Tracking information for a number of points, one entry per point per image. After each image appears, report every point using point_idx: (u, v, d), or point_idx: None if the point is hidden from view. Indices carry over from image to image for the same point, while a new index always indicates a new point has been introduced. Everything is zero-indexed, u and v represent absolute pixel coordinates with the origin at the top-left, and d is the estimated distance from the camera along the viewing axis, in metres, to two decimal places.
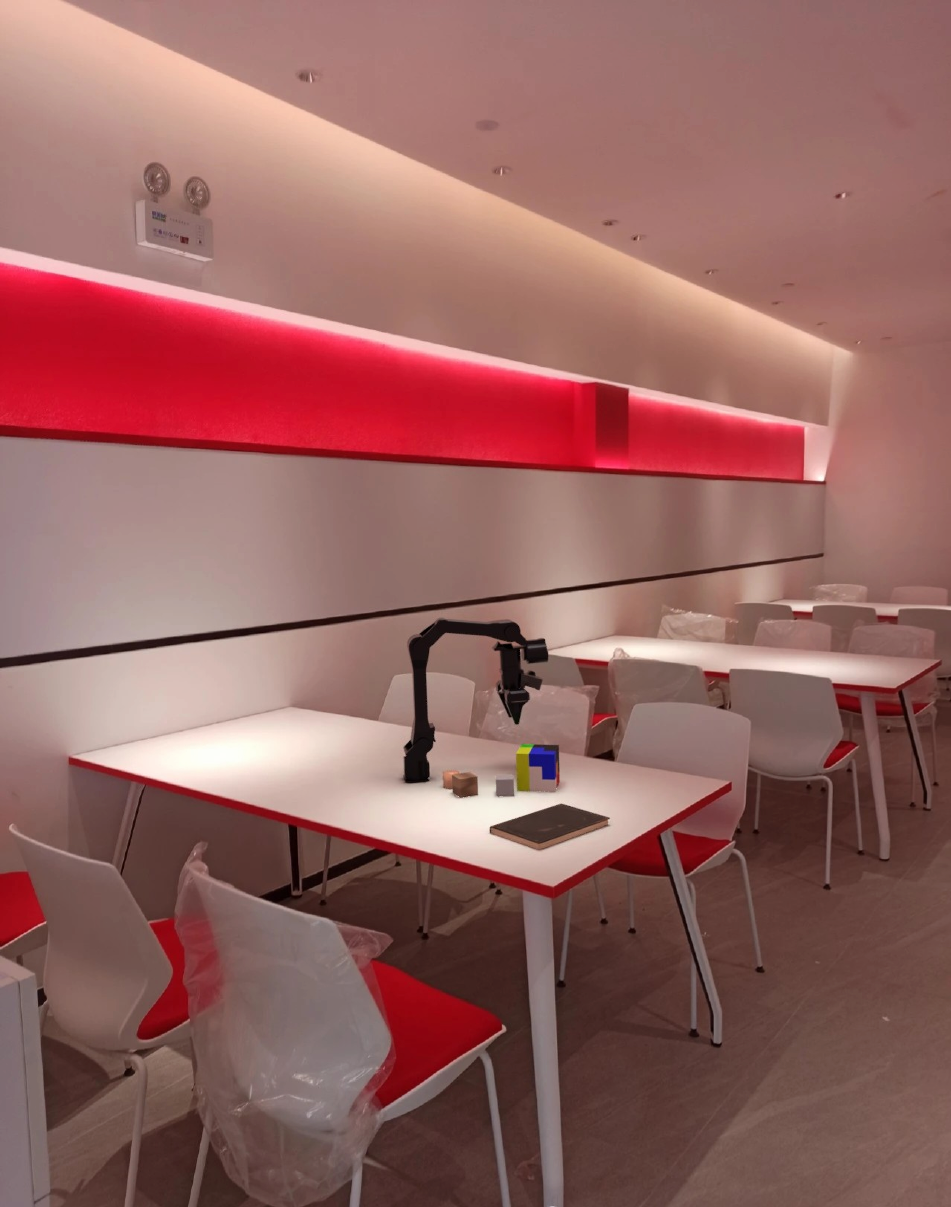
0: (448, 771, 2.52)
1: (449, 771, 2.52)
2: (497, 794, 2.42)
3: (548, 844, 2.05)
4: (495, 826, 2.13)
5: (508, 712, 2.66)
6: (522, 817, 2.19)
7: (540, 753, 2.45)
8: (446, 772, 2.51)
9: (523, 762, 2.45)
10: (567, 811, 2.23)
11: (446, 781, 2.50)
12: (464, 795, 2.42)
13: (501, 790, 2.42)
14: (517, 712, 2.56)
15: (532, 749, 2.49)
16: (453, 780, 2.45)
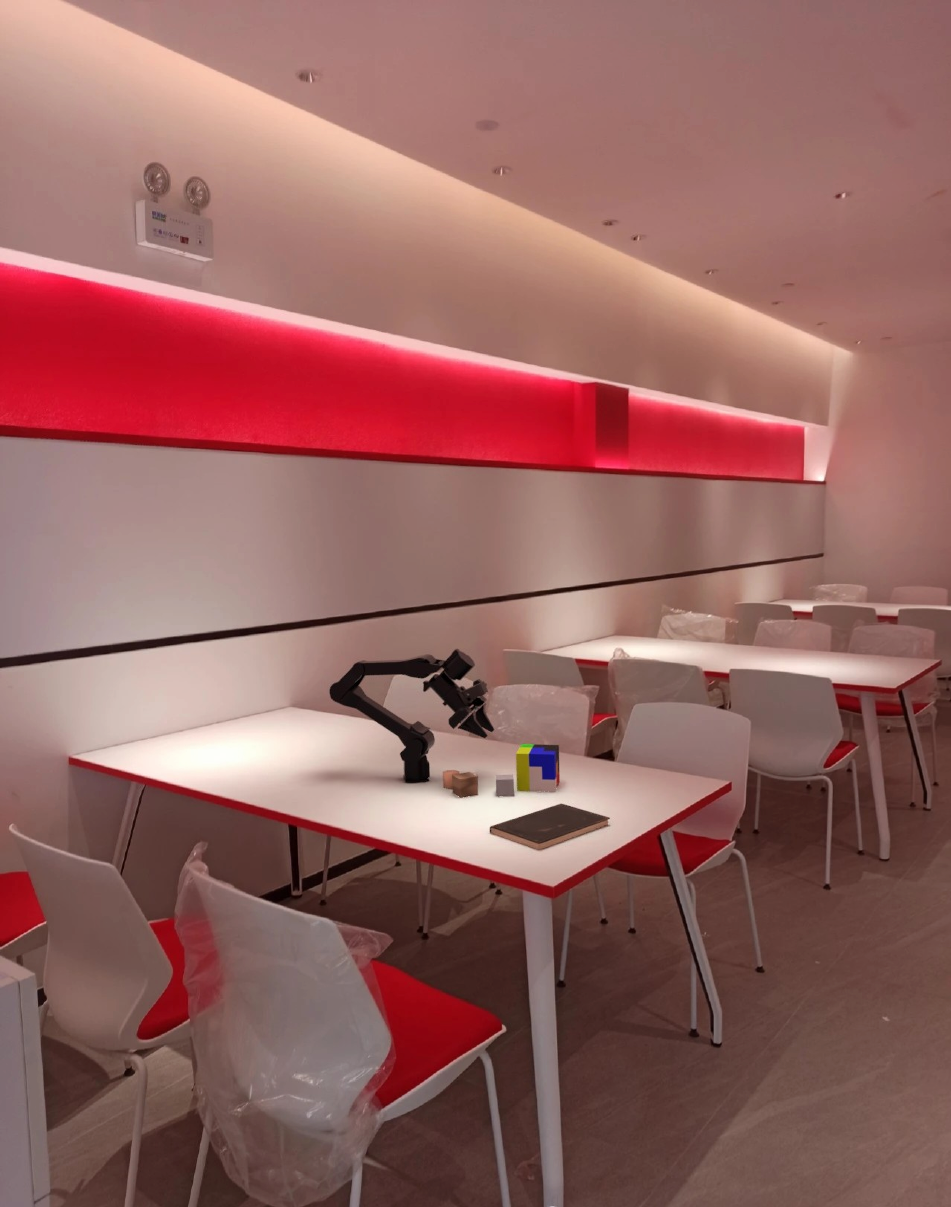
0: (448, 771, 2.52)
1: (449, 771, 2.52)
2: (497, 794, 2.42)
3: (548, 844, 2.05)
4: (495, 826, 2.13)
5: (487, 728, 2.56)
6: (522, 817, 2.19)
7: (540, 753, 2.45)
8: (446, 772, 2.51)
9: (523, 762, 2.45)
10: (567, 811, 2.23)
11: (446, 781, 2.50)
12: (464, 795, 2.42)
13: (501, 790, 2.42)
14: (476, 728, 2.48)
15: (532, 749, 2.49)
16: (453, 780, 2.45)
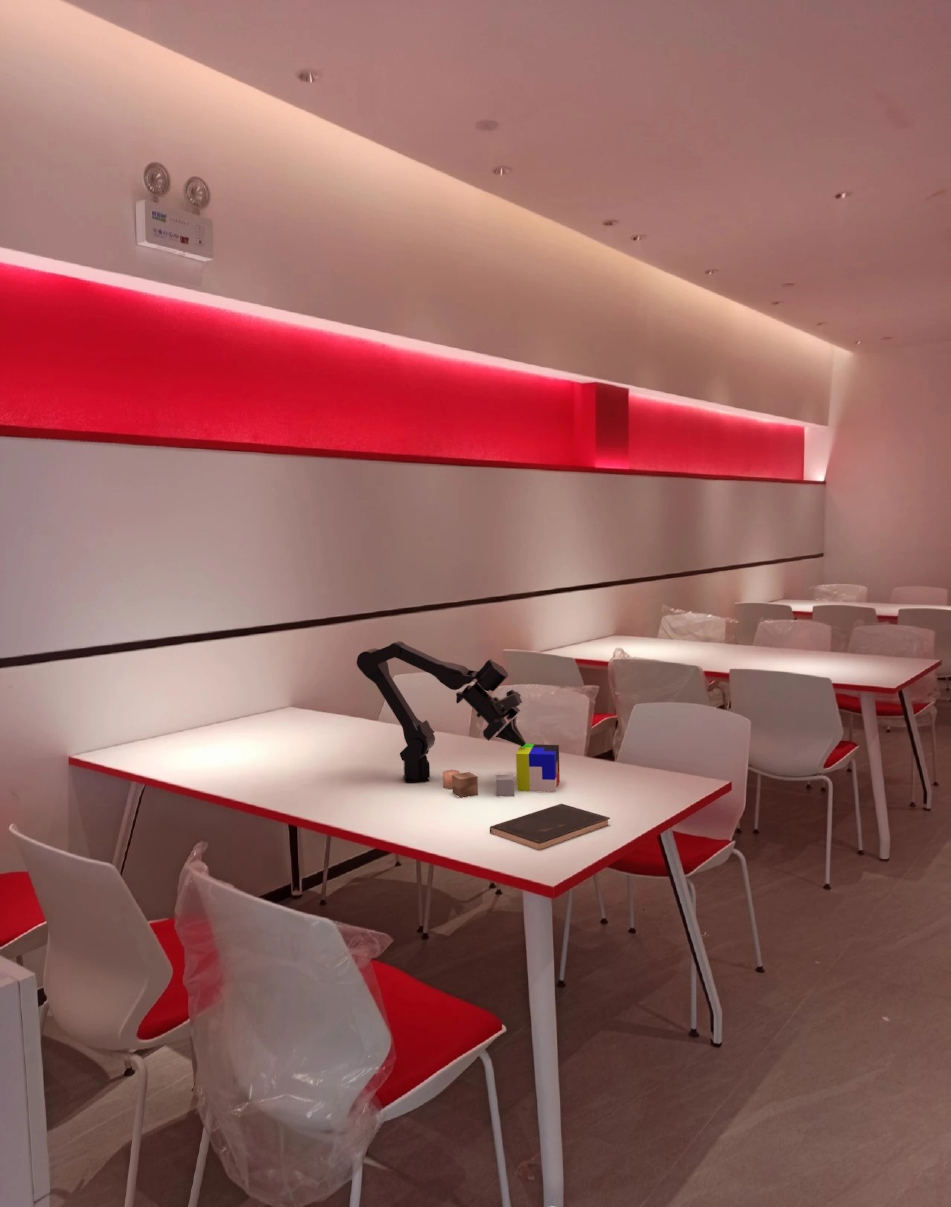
0: (448, 771, 2.52)
1: (449, 771, 2.52)
2: (497, 794, 2.42)
3: (548, 844, 2.05)
4: (495, 826, 2.13)
5: None
6: (522, 817, 2.19)
7: (540, 753, 2.45)
8: (446, 772, 2.51)
9: (523, 762, 2.45)
10: (567, 811, 2.23)
11: (446, 781, 2.50)
12: (464, 795, 2.42)
13: (501, 790, 2.42)
14: (513, 736, 2.49)
15: (532, 749, 2.49)
16: (453, 780, 2.45)
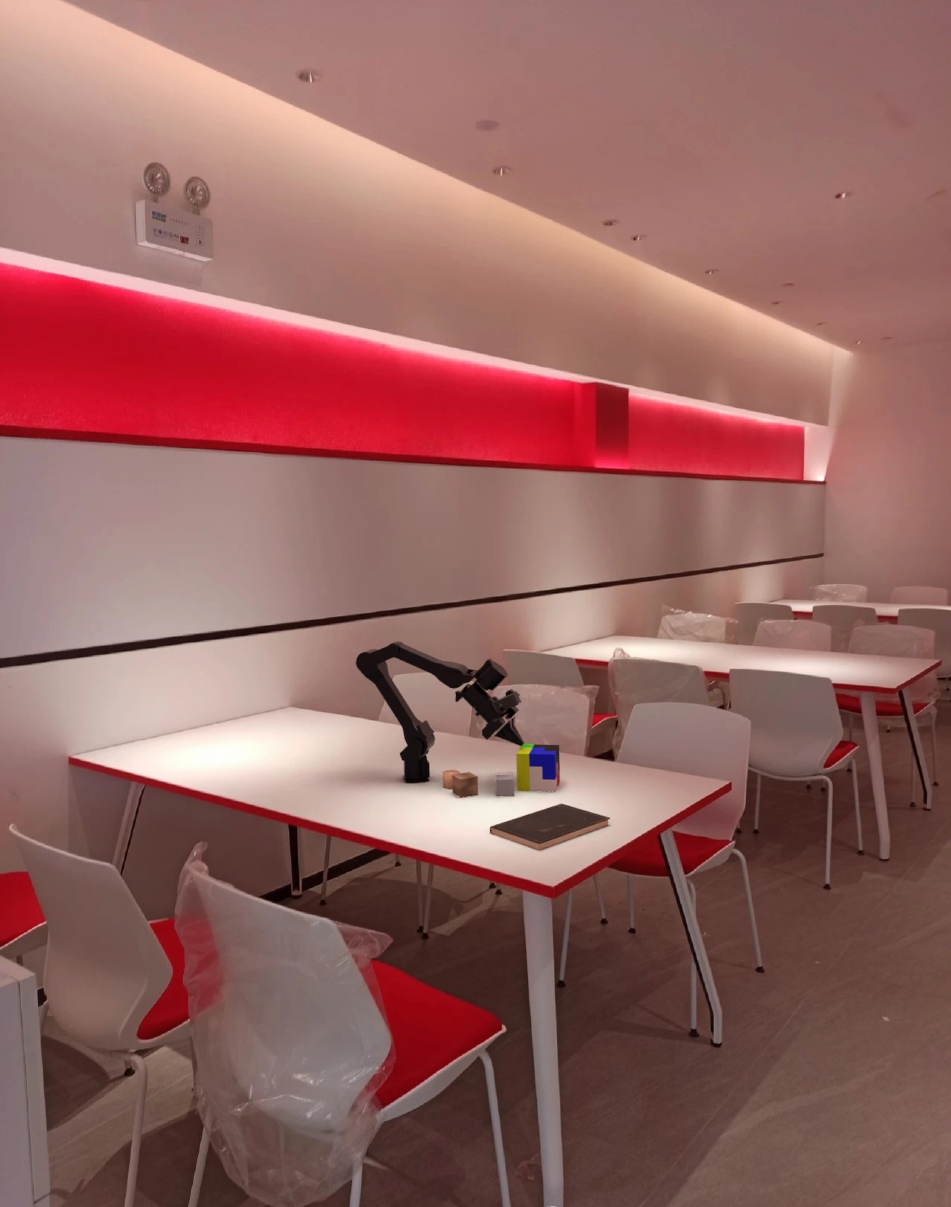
0: (448, 771, 2.52)
1: (449, 771, 2.52)
2: (497, 794, 2.42)
3: (548, 844, 2.05)
4: (495, 826, 2.13)
5: None
6: (522, 817, 2.19)
7: (540, 753, 2.45)
8: (446, 772, 2.51)
9: (523, 762, 2.45)
10: (568, 811, 2.23)
11: (446, 781, 2.50)
12: (464, 795, 2.42)
13: (501, 790, 2.42)
14: (512, 735, 2.49)
15: (532, 749, 2.49)
16: (453, 780, 2.45)
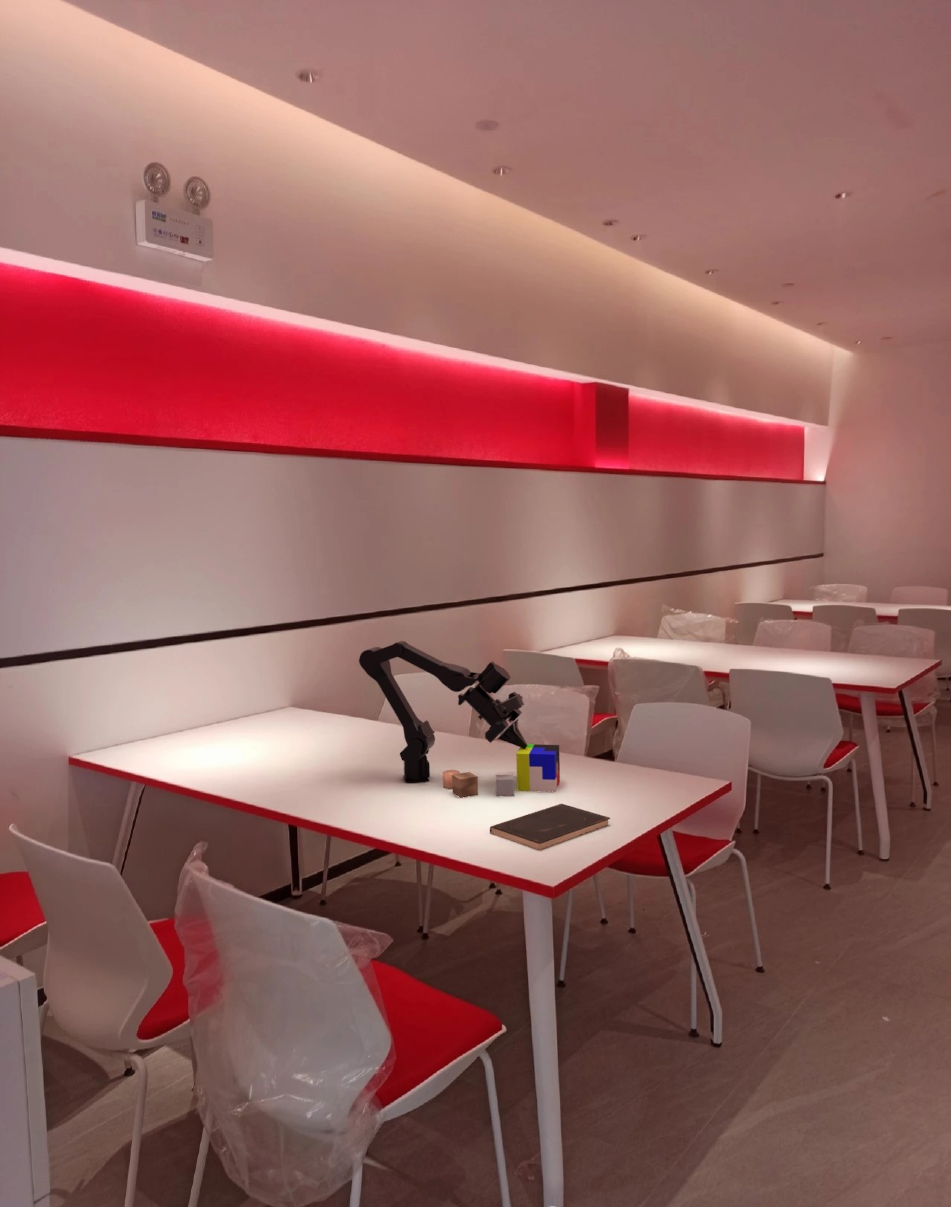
0: (448, 771, 2.52)
1: (449, 771, 2.52)
2: (497, 794, 2.42)
3: (548, 844, 2.05)
4: (495, 826, 2.13)
5: None
6: (522, 817, 2.19)
7: (540, 753, 2.45)
8: (446, 772, 2.51)
9: (523, 762, 2.45)
10: (568, 811, 2.23)
11: (446, 781, 2.50)
12: (464, 795, 2.42)
13: (501, 790, 2.42)
14: (515, 738, 2.49)
15: (532, 749, 2.49)
16: (453, 780, 2.45)
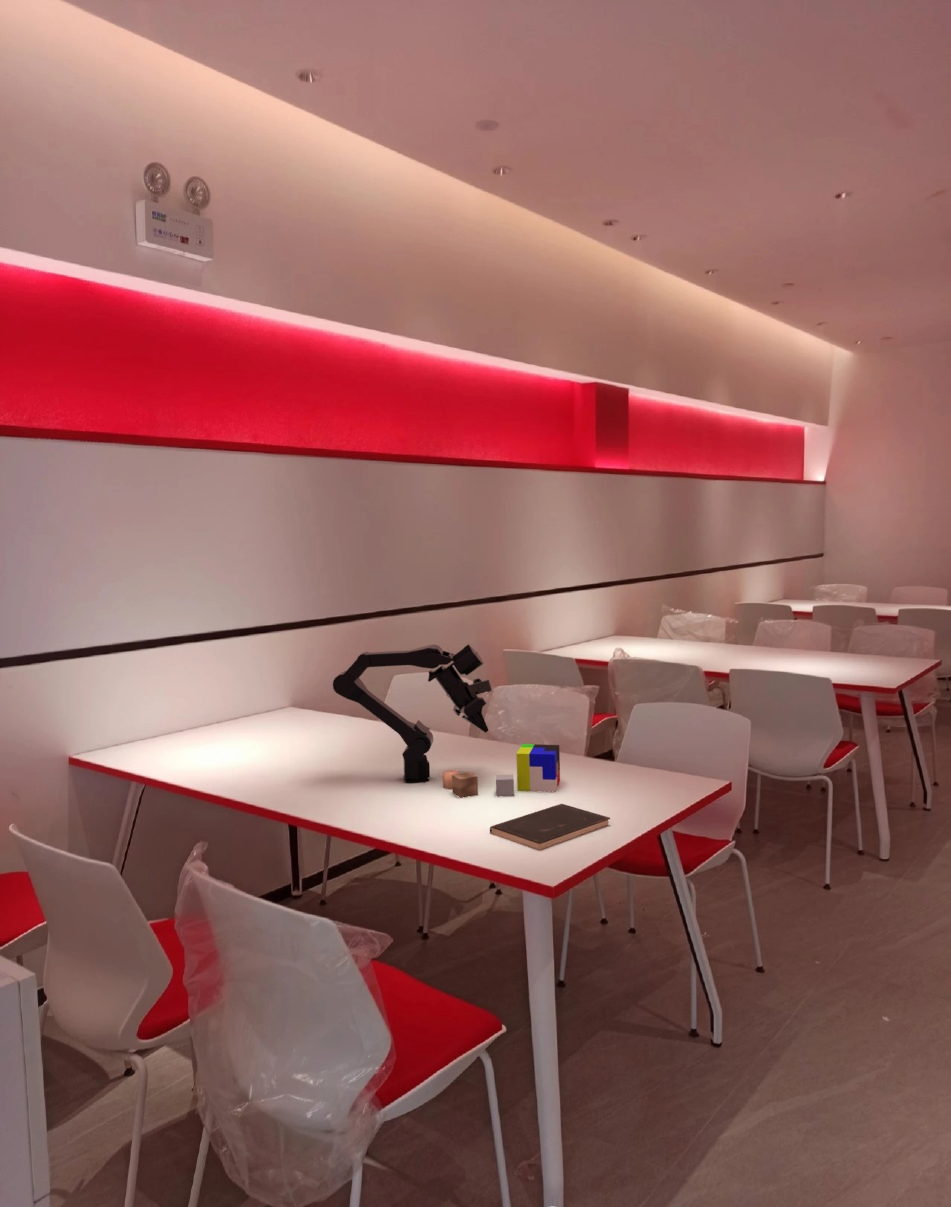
0: (448, 771, 2.52)
1: (449, 771, 2.52)
2: (497, 794, 2.42)
3: (548, 844, 2.05)
4: (495, 826, 2.13)
5: None
6: (522, 817, 2.19)
7: (540, 753, 2.45)
8: (446, 772, 2.51)
9: (523, 762, 2.45)
10: (568, 811, 2.23)
11: (446, 781, 2.50)
12: (464, 795, 2.42)
13: (501, 790, 2.42)
14: (480, 721, 2.55)
15: (532, 749, 2.49)
16: (453, 780, 2.45)
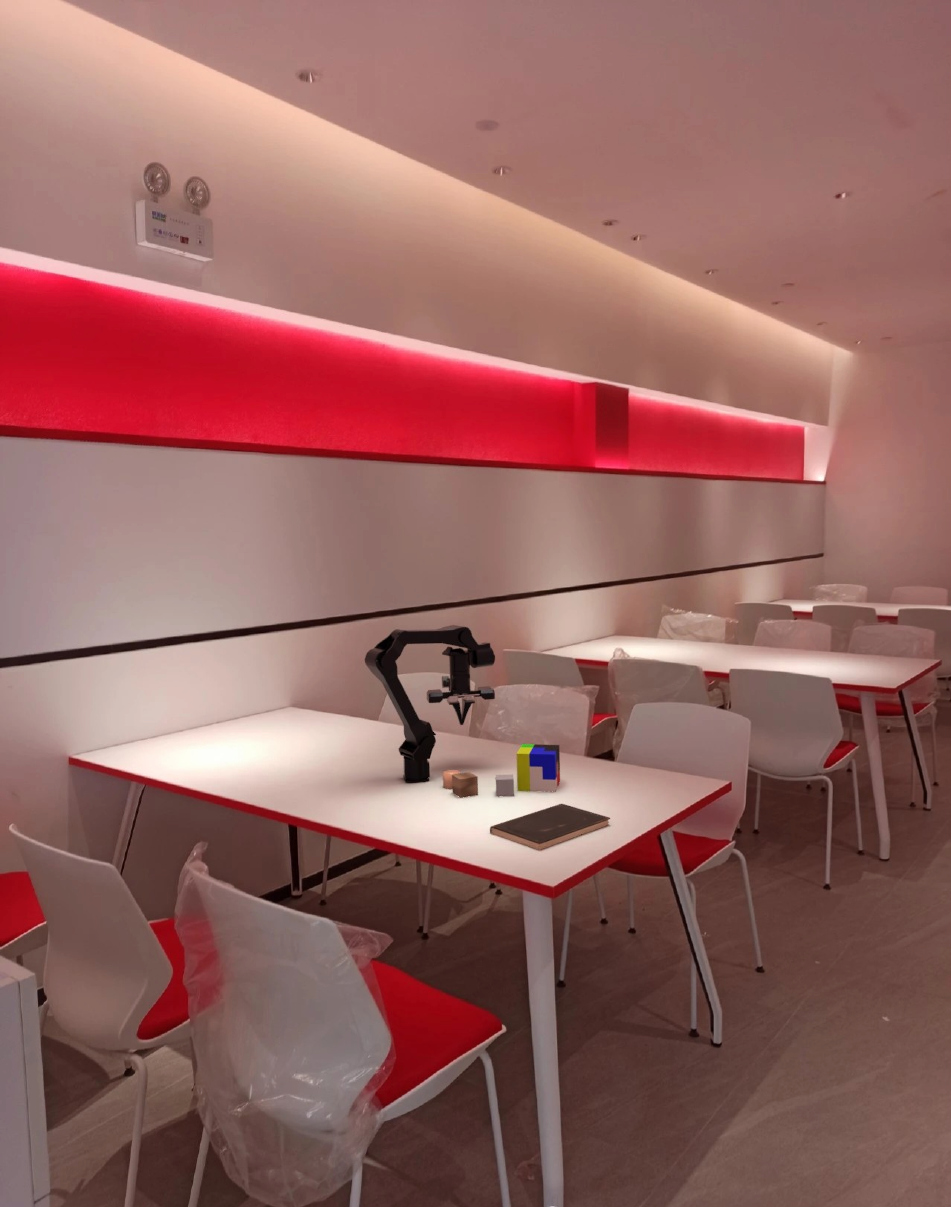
0: (448, 771, 2.52)
1: (449, 771, 2.52)
2: (497, 794, 2.42)
3: (548, 844, 2.05)
4: (495, 826, 2.13)
5: (461, 720, 2.66)
6: (522, 817, 2.19)
7: (540, 753, 2.45)
8: (446, 772, 2.51)
9: (523, 762, 2.45)
10: (568, 811, 2.23)
11: (446, 781, 2.50)
12: (464, 795, 2.42)
13: (501, 790, 2.42)
14: None
15: (532, 749, 2.49)
16: (453, 780, 2.45)
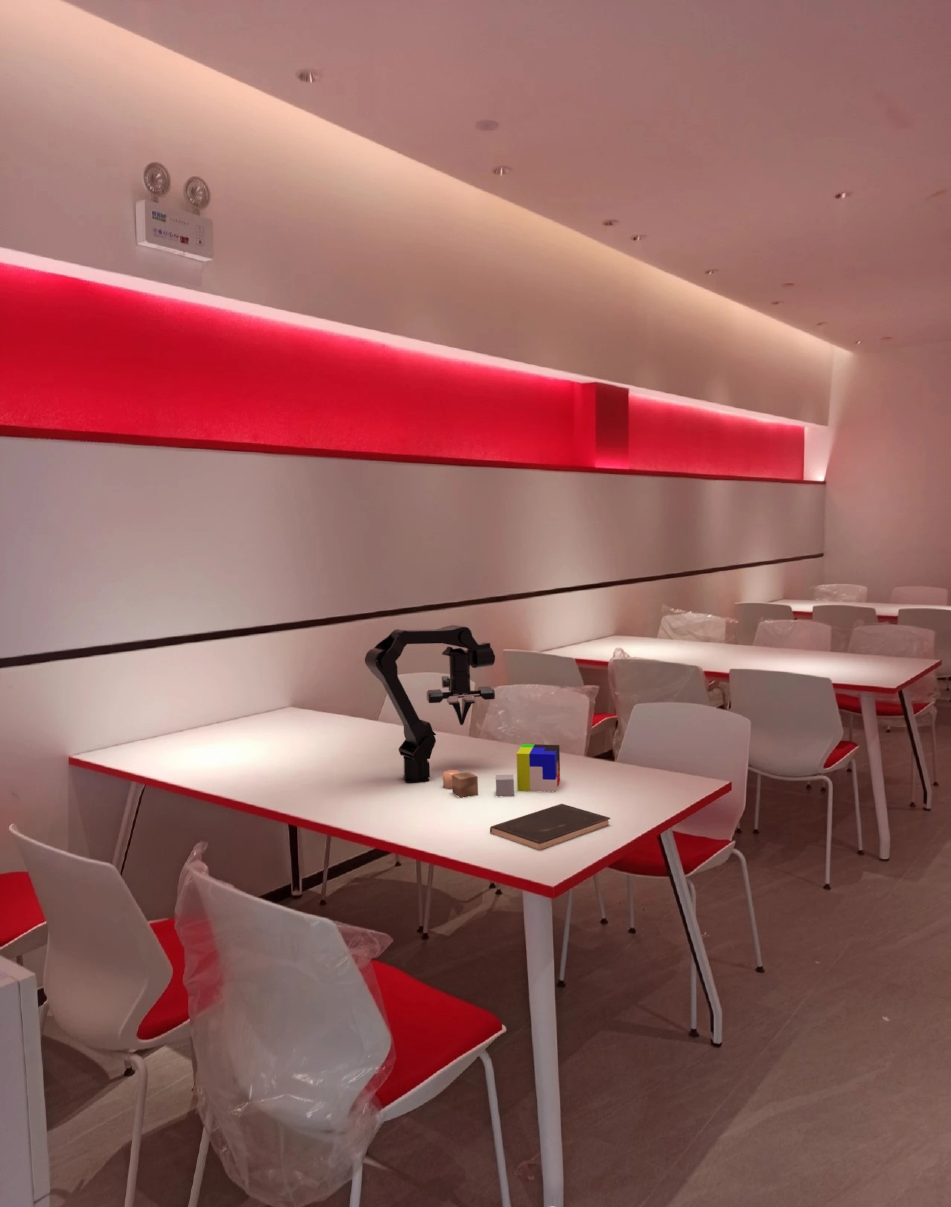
0: (448, 771, 2.52)
1: (449, 771, 2.52)
2: (497, 794, 2.42)
3: (548, 844, 2.05)
4: (495, 826, 2.13)
5: (461, 720, 2.66)
6: (522, 817, 2.19)
7: (541, 753, 2.45)
8: (446, 772, 2.51)
9: (523, 762, 2.45)
10: (568, 811, 2.23)
11: (446, 781, 2.50)
12: (464, 795, 2.42)
13: (501, 790, 2.42)
14: None
15: (533, 749, 2.49)
16: (453, 780, 2.45)
